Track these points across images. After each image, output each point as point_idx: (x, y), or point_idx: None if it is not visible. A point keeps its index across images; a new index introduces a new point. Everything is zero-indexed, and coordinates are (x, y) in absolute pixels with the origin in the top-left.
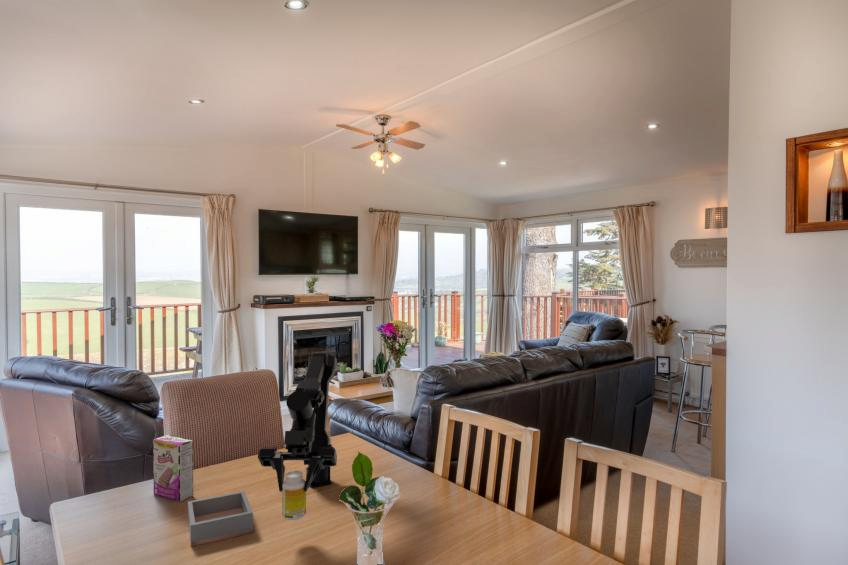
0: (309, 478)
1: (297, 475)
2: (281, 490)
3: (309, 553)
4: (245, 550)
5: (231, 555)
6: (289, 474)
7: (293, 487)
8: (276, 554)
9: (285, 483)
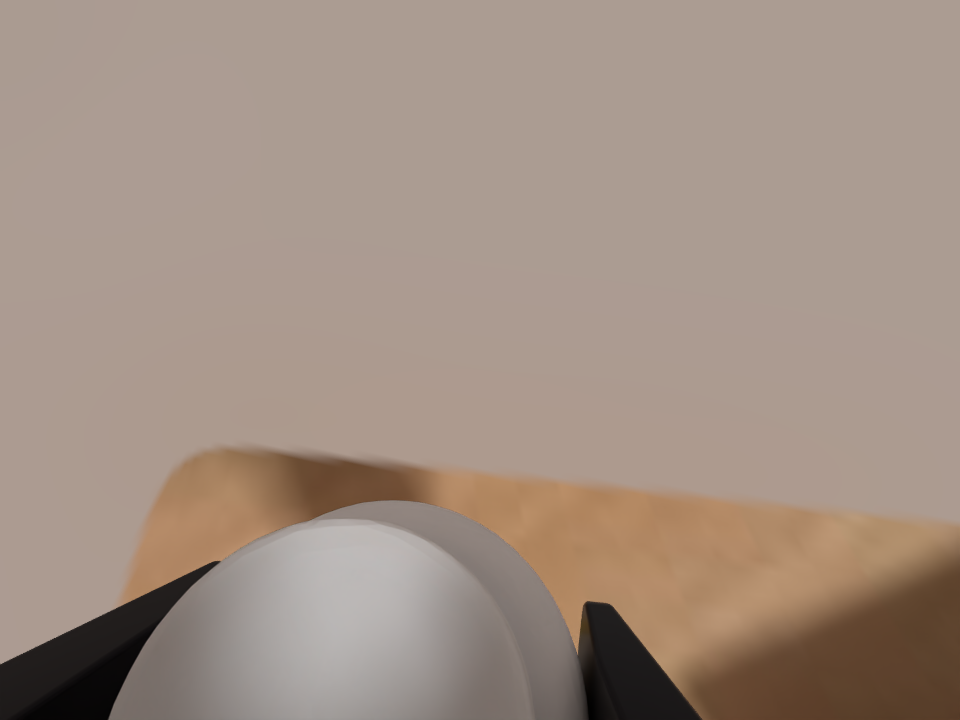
0: (33, 654)
1: (238, 605)
2: (580, 647)
3: (363, 498)
4: (738, 574)
5: (796, 526)
6: (432, 711)
7: (376, 502)
8: (540, 508)
9: (521, 646)
